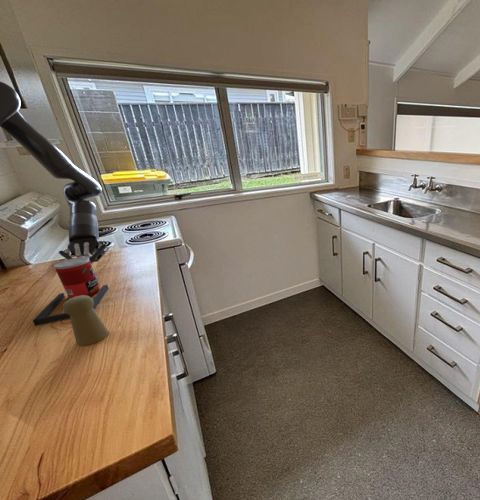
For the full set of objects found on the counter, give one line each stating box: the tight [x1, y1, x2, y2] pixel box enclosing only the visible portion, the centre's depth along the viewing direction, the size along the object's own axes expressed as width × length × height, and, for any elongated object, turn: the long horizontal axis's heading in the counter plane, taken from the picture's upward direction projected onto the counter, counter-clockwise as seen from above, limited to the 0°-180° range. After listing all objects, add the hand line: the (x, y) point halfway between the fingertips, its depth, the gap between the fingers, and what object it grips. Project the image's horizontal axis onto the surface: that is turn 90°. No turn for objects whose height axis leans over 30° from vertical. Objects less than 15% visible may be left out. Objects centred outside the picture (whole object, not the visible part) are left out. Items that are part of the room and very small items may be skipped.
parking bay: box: [32, 284, 110, 326], centre depth 83 cm, size 12×16×2 cm
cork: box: [62, 295, 110, 347], centre depth 67 cm, size 6×6×11 cm
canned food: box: [54, 257, 101, 299], centre depth 88 cm, size 8×8×11 cm
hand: (85, 274), depth 92 cm, fingers closed
